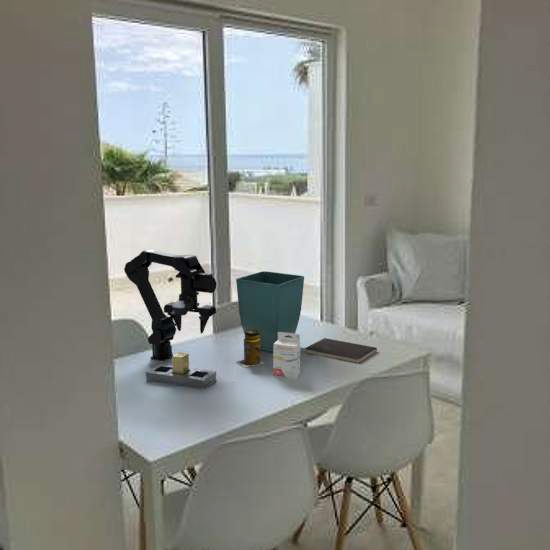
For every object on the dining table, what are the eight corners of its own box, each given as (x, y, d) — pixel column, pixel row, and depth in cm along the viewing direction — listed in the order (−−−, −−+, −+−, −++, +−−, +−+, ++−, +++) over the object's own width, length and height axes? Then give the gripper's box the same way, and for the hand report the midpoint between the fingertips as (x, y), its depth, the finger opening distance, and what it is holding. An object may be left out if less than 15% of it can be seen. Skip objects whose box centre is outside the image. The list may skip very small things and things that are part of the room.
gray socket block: (146, 380, 201) (146, 372, 200) (160, 371, 209) (160, 363, 209) (203, 389, 193) (203, 380, 192) (216, 379, 201) (216, 371, 201)
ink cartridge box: (272, 376, 204) (272, 335, 201) (277, 371, 209) (277, 331, 206) (296, 378, 201) (296, 337, 198) (300, 373, 206) (300, 333, 203)
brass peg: (173, 381, 200) (172, 356, 198) (179, 377, 204) (178, 352, 202) (183, 382, 199) (182, 357, 197) (189, 378, 202) (188, 353, 200)
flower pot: (305, 343, 240) (305, 275, 234) (279, 357, 223) (278, 284, 218) (264, 336, 250) (263, 270, 245) (236, 348, 234) (234, 279, 228)
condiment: (265, 363, 217) (264, 332, 215) (245, 368, 212) (244, 336, 210) (254, 358, 223) (254, 327, 221) (235, 362, 218) (234, 331, 216)
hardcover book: (358, 364, 216) (358, 358, 216) (304, 353, 229) (304, 348, 229) (376, 352, 229) (376, 347, 229) (325, 342, 242) (325, 337, 242)
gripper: (154, 293, 208) (156, 335, 211) (201, 297, 201) (202, 341, 204) (171, 286, 218) (172, 327, 221) (216, 290, 212) (217, 332, 215)
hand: (190, 332), depth 215 cm, fingers open, 9 cm apart
